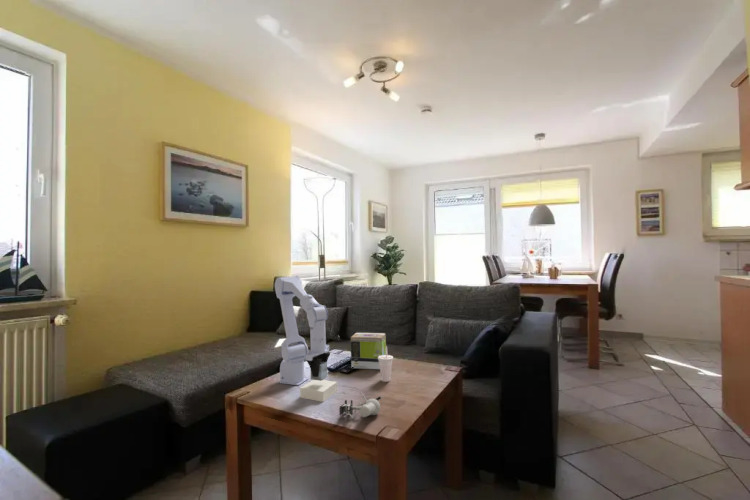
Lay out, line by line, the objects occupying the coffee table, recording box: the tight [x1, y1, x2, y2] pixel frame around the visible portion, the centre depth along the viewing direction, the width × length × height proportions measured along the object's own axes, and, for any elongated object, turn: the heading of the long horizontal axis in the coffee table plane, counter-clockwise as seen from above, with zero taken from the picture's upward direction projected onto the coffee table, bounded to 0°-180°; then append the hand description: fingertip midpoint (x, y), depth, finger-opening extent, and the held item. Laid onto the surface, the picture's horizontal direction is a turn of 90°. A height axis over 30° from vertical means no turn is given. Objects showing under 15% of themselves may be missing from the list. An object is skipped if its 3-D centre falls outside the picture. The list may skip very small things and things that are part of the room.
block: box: [310, 361, 328, 381], centre depth 133 cm, size 5×5×6 cm
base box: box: [299, 379, 338, 402], centre depth 133 cm, size 10×10×4 cm
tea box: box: [350, 332, 387, 370], centre depth 165 cm, size 15×10×15 cm
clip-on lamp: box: [339, 391, 384, 419], centre depth 118 cm, size 12×6×18 cm
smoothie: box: [378, 345, 394, 383], centre depth 146 cm, size 6×6×14 cm
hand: (318, 374), depth 133 cm, fingers closed on block, 5 cm apart
